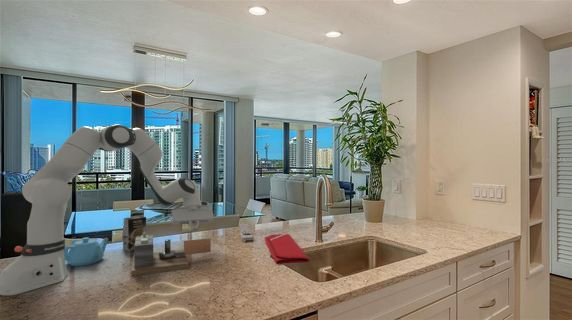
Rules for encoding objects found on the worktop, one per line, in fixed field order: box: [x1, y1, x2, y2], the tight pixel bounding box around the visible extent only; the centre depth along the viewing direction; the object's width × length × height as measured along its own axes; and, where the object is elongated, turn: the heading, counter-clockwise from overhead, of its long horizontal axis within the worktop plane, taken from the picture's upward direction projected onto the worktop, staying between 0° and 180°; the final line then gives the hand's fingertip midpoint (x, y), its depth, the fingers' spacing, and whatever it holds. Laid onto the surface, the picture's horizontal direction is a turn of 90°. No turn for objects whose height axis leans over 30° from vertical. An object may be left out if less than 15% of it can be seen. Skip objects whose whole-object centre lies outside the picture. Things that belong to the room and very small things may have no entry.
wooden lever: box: [158, 237, 212, 259], centre depth 138 cm, size 7×22×8 cm, turn 115°
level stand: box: [130, 231, 190, 277], centre depth 132 cm, size 22×22×14 cm
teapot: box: [64, 236, 109, 267], centre depth 134 cm, size 15×15×11 cm
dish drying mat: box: [264, 233, 310, 265], centre depth 154 cm, size 16×41×4 cm, turn 11°
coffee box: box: [122, 215, 147, 252], centre depth 155 cm, size 9×6×16 cm
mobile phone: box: [238, 222, 254, 243], centre depth 179 cm, size 6×6×25 cm
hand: (194, 229), depth 148 cm, fingers closed
